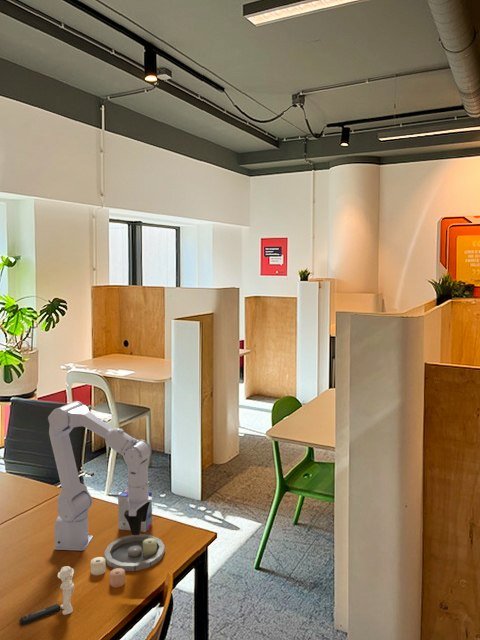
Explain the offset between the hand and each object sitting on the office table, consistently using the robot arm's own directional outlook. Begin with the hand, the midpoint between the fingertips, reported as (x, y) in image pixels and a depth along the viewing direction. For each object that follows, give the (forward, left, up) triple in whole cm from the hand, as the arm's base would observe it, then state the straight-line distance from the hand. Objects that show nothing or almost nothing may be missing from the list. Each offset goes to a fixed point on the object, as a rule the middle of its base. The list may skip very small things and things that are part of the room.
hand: (138, 527), depth 155 cm
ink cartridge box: (-5, +16, -10) cm, 19 cm away
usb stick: (-18, -27, -10) cm, 34 cm away
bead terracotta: (-2, -14, -9) cm, 17 cm away
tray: (-1, 0, -9) cm, 9 cm away
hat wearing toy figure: (-12, -24, -10) cm, 29 cm away
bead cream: (-9, -9, -9) cm, 16 cm away
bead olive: (+3, 0, -8) cm, 9 cm away
